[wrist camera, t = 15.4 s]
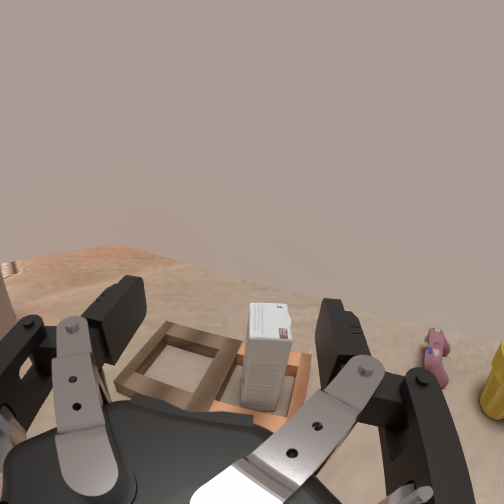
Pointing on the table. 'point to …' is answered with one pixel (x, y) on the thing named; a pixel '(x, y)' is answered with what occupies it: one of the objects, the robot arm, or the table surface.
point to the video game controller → (436, 354)
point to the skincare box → (265, 355)
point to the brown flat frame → (207, 374)
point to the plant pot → (495, 388)
